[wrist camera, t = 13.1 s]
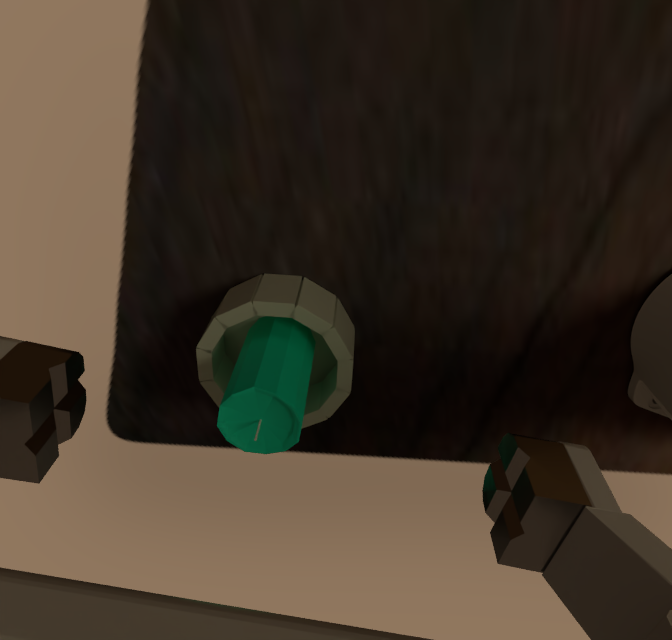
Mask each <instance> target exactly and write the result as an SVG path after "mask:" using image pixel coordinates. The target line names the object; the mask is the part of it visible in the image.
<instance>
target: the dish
mask: <svg viewBox="0 0 672 640" xmlns="http://www.w3.org/2000/svg"><path fill="white" fill-rule="evenodd" d="M265 316H274V317H288V318H293V319H295V320H297V321H298V322H300V323H302V324H303V325H305V326H307V327H309V328H310V330H311V332H312V335H313V337H314V339H315V342H316V344H315V350H314V356H313V362H312V368H311V374H310V380H309V387H308V393H307V399H306V405H305V411H304V417H303V423H302V428H305V427H308V426H311V425H313V424H316V423H319V422H322V421H324V420H327V419H328V418H330V417H331V416H332V415H333V413H334V412H335V411H336V410H337V409H338V408H339V406H340V405H341V404H342V403H343V402H344V400H345V399H346V398H347V397H348V396H349V395H350V392H351V384H352V371H353V358H354V337H355V329H354V325H353V323H352V322H351V320H350V318H349V316H348V315H347V313H346V311H345V309H344V308H343V306H342V304H341V302H340V300H339V299H338V298H336V296H335V295H334V294H332V293H330V292H329V291H327V290H325V289H324V288H322V287H320V286H319V285H317V284H315V283H314V282H312V281H310V280H309V279H307V278H305V277H304V278H303V280H302V276H292V275H278V274H264V275H262V274H261V275H258V276H256V277H254V278H252V279H250V280H248V281H246V282H243V283H241V284H239V285H237V286H235V287H233V288H230V290H228V292H227V293H226V295H225V297H224V298H223V300H222V301H221V303H220V305H219V306H218V308H217V310H216V311H215V313H214V315H213V316H212V318H211V320H210V322H209V324H208V326H207V328H206V329H205V331H204V333H203V335H202V337H201V339H200V341H199V343H198V345H197V348H196V355H197V365H198V375H199V381H201V382H200V384H201V385H202V386H203V387H204V389H205V390H206V391H207V393H208V394H209V395H210V397H211V398H212V399H213V400H214V402H215V403H216V404H217V406H218V407H219V408H220V404H221V401H222V399H223V396H224V393H225V391H226V388H227V386H228V383H229V380H230V378H231V375H232V373H233V370H234V367H235V365H236V362H237V360H238V357H239V354H240V352H241V349H242V347H243V344H244V341H245V339H246V336H247V333H248V331H249V329H250V328H251V327H252V326H253V325H254V324H255V323H256V321H257V320H258V319H259V318H261V317H265ZM302 428H301V429H302Z"/></svg>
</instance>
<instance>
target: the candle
mask: <svg viewBox="0 0 672 640" xmlns="http://www.w3.org/2000/svg"><path fill="white" fill-rule="evenodd" d="M315 344H316V342H315V339H314V337H313V335H312V332H311V330H310V328H309V327H307V326H305V325H303V324H302V323H300V322H298V321H297V320H295V319H293V318H288V317H274V316H265V317H261V318H259V319H258V320H257V321H256V323H255V324H254V325H253V326H252V327H251V328H250V329H249V331H248V333H247V336H246V339H245V341H244V344H243V347H242V349H241V352H240V354H239V357H238V360H237V362H236V365H235V367H234V370H233V373H232V375H231V378H230V380H229V383H228V386H227V388H226V391H225V393H224V396H223V399H222V401H221V404H220V408H219V415H218V422H217V427H218V428H219V430H220V431H221V433H222V434H223V436H224V437H225V439H226V440H227V441H228V442H230V443H231V444H233V445H235V446H236V447H238V448H239V449H241V450H243V451H244V452H252V453H261V454H270V453H277V452H283V451H287V450H288V449H289V448H291V447H292V446H294V445H295V444H296V443H298V442H299V438H300V433H301V428H302V423H303V417H304V411H305V405H306V399H307V393H308V387H309V380H310V374H311V368H312V362H313V356H314V350H315Z"/></svg>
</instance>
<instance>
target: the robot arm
mask: <svg viewBox="0 0 672 640" xmlns="http://www.w3.org/2000/svg"><path fill="white" fill-rule="evenodd" d="M631 353H632V358H633V363H634V372H633V374H632V377H631V380H630V383H629V387H628V396H629V398H630V399H631V400H632V401H633V402H634V403H635V404H636V405H637V406H639V407H642V408H644V409H647V410H650V411H652V412H655V413H657V414H660V415H663V416H665V417H668V418H670V419H671V420H672V274H671V275H670V276H668V277H667V278H666V279H665V280H664V281H663V282H662V283H661V284H660V285H658V287H657V288H656V289H655V290H654V291H653V292H652V293H651V294H650V296H649V297H648V298H647V300H646V301H645V302H644V304H643V306H642V307H641V309H640V311H639V313H638V315H637V317H636V319H635V322H634V325H633V329H632V334H631ZM84 371H85V369H84V359H83V356H82V355H81V354H80V353H79V352H76V351H71V350H66V349H61V348H56V347H52V346H47V345H42V344H37V343H33V342H28V341H21V340H17V339H12V338H6V337H2V336H0V478H6V479H12V480H19V481H26V482H34V483H40V481H41V480H42V479H43V477H44V476H45V475H46V473H47V472H48V470H49V469H50V467H51V466H52V465H53V463H54V462H55V461H56V459H57V458H58V456H59V452H58V444H61V443H63V442H65V441H67V440H69V439H71V438H72V436H73V435H74V433H75V432H76V430H77V429H78V428H79V425H80V423H81V420H82V418H83V415H84V412H85V405H86V390H85V388H84V387H83V386H82V384H81V383H80V382H79V381H78V379H79V378H80V376H81V375H82V374H83V372H84ZM498 450H499V453H500V457H501V458H500V459H498V460H497V461H495V462H493V463H492V464H490V466H489V468H488V470H487V473H486V475H485V479H484V485H483V503H484V508H485V513H486V514H487V515H488V516H489V517H490V518H491V519H492V520H493V521H494V522H495V524H494V526H493V528H492V530H491V532H490V534H491V538H492V542H493V546H494V550H495V554H496V558H497V563H498V564H502V565H507V566H512V567H517V568H521V569H526V570H531V571H536V572H541V573H543V574H542V576H543V577H544V578H545V579H546V581H547V582H548V584H549V585H550V586H551V587H552V589H553V590H554V591H555V593H556V594H557V595H558V597H559V598H560V599H561V601H562V602H563V603H564V605H565V606H566V607H567V608H568V610H569V611H570V612H571V614H572V615H573V616H574V618H575V619H576V620H577V622H578V623H579V624H580V626H581V627H582V628H583V630H584V631H585V632H586V634H587V635H588V636H589V637H590V639H591V640H672V549H671V548H669V547H668V546H667V545H666V544H665V543H664V542H662V541H661V540H660V539H659V538H658V537H656V536H655V535H654V534H653V533H652V532H650V531H649V530H648V529H647V528H646V527H644V526H643V525H642V524H641V523H640V522H639V521H637V520H636V519H635V518H634V517H633V516H632V515H630V514H626V513H622V512H621V510H620V508H619V506H618V504H617V502H616V500H615V498H614V496H613V494H612V492H611V490H610V489H609V486H608V485H607V483H606V481H605V479H604V477H603V475H602V473H601V471H600V469H599V467H598V465H597V463H596V461H595V459H594V457H593V455H592V454H591V452H590V450H589V449H588V448H587V447H585V446H584V445H578V444H572V443H565V442H555V441H549V440H544V439H538V438H533V437H527V436H522V435H516V434H511V433H507V434H506V435H505V436H504V437H503V438H502V441H501V443H500V445H499V447H498ZM0 640H431V639H426V638H420V637H413V636H407V635H400V634H395V633H389V632H383V631H377V630H371V629H365V628H359V627H353V626H347V625H341V624H335V623H329V622H323V621H317V620H311V619H305V618H299V617H293V616H287V615H281V614H275V613H269V612H263V611H257V610H251V609H245V608H239V607H233V606H227V605H221V604H215V603H209V602H203V601H197V600H191V599H185V598H179V597H173V596H167V595H161V594H155V593H149V592H144V591H137V590H132V589H126V588H119V587H113V586H108V585H101V584H96V583H89V582H83V581H78V580H71V579H66V578H59V577H53V576H47V575H41V574H35V573H29V572H23V571H17V570H11V569H5V568H0Z"/></svg>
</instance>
